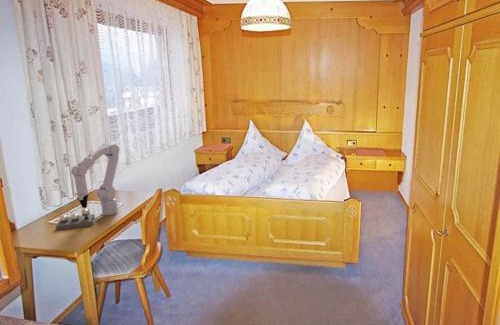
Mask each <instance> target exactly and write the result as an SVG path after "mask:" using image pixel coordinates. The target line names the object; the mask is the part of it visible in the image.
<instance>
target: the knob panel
mask: <svg viewBox="0 0 500 325" xmlns="http://www.w3.org/2000/svg"><path fill="white" fill-rule="evenodd" d="M79 218H80V219H79V220H77V221H72V220H71V216H68V219H69V221H67V222H60V219H59V220H58V222H57V223H56V225H55V229H56V231H61V230H68V229H75V228H76V229H77V228H82V227H83V228H84V227H91V226H93V225H94V221H95V213H90V215H88V219H85V216H82V215H79Z"/></svg>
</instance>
